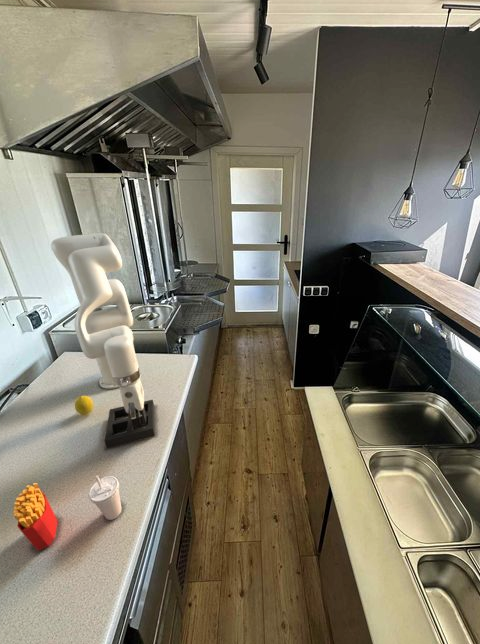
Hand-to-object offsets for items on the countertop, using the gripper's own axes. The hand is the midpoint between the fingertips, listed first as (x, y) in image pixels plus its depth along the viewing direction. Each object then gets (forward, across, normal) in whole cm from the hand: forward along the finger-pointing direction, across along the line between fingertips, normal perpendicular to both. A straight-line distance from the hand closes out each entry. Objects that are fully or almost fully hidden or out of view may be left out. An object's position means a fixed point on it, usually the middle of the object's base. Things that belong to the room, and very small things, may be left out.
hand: (139, 419), depth 94 cm
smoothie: (+5, -26, +6) cm, 27 cm away
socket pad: (+5, +3, +3) cm, 7 cm away
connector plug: (+1, 0, 0) cm, 1 cm away
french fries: (+5, -25, +21) cm, 33 cm away
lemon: (+5, +15, +19) cm, 25 cm away
